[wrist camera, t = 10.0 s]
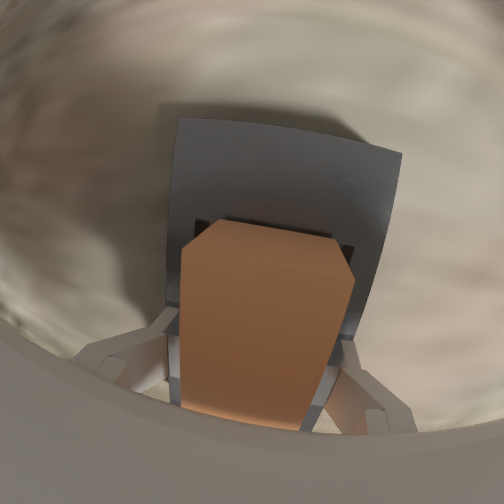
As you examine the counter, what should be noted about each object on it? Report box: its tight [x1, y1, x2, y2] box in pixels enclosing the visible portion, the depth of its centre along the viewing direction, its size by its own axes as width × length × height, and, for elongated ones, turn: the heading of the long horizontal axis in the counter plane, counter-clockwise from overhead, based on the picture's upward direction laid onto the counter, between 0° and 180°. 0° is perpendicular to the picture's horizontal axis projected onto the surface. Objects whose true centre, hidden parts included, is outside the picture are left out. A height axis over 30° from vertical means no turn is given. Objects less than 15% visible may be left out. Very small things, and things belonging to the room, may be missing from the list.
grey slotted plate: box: [166, 117, 402, 432], centre depth 11 cm, size 7×14×2 cm, turn 172°
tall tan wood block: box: [179, 219, 355, 431], centre depth 9 cm, size 4×8×5 cm, turn 172°
